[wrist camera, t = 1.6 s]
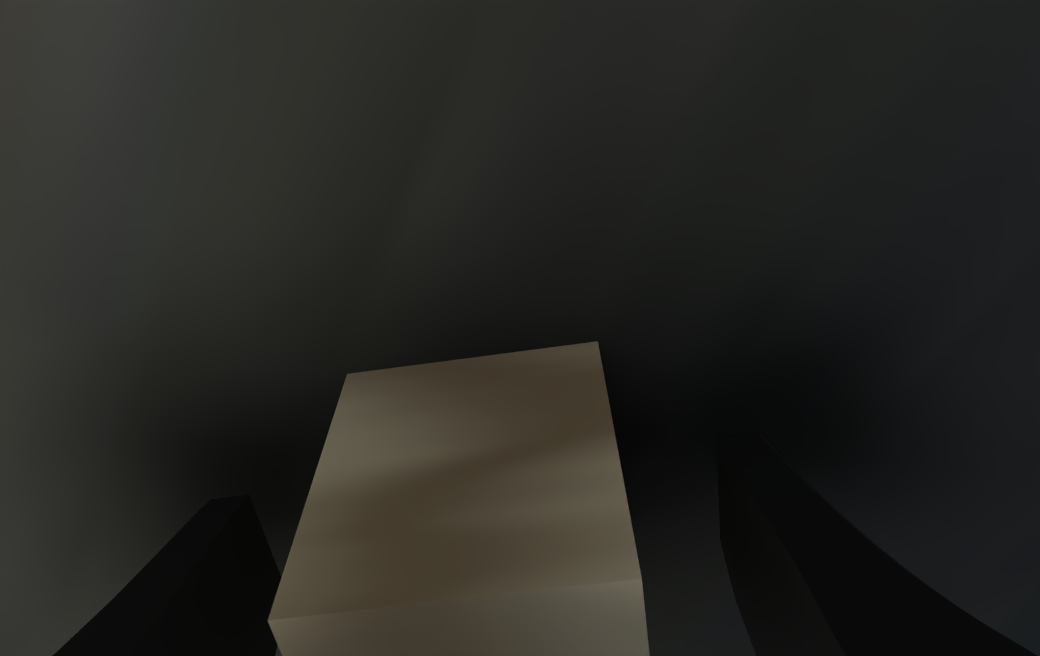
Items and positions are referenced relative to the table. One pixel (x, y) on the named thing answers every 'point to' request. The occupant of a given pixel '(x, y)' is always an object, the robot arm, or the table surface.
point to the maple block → (467, 517)
